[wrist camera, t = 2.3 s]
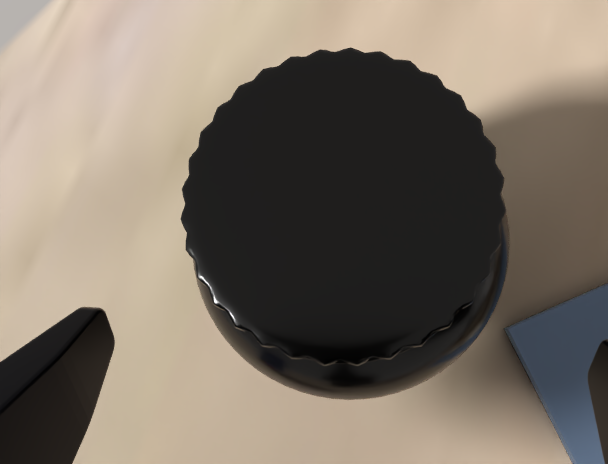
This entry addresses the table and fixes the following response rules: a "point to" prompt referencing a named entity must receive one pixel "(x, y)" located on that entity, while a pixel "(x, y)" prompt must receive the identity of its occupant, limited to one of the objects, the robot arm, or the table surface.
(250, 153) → the supplement bottle
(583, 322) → the board
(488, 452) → the table surface
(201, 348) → the table surface
